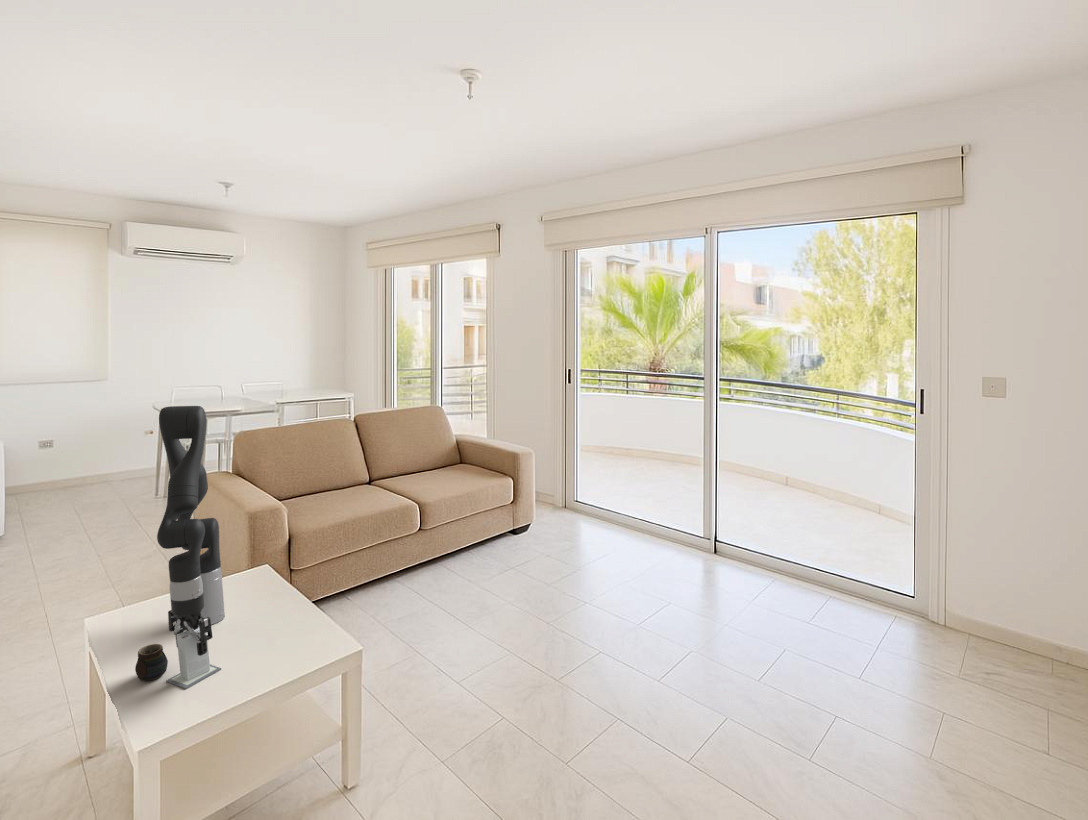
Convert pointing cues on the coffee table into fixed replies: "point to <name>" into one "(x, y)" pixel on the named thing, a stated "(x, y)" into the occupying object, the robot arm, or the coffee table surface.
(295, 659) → the coffee table surface
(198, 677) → the slate gray picture frame
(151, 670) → the mate gourd
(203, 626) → the robot arm
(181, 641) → the skincare box
